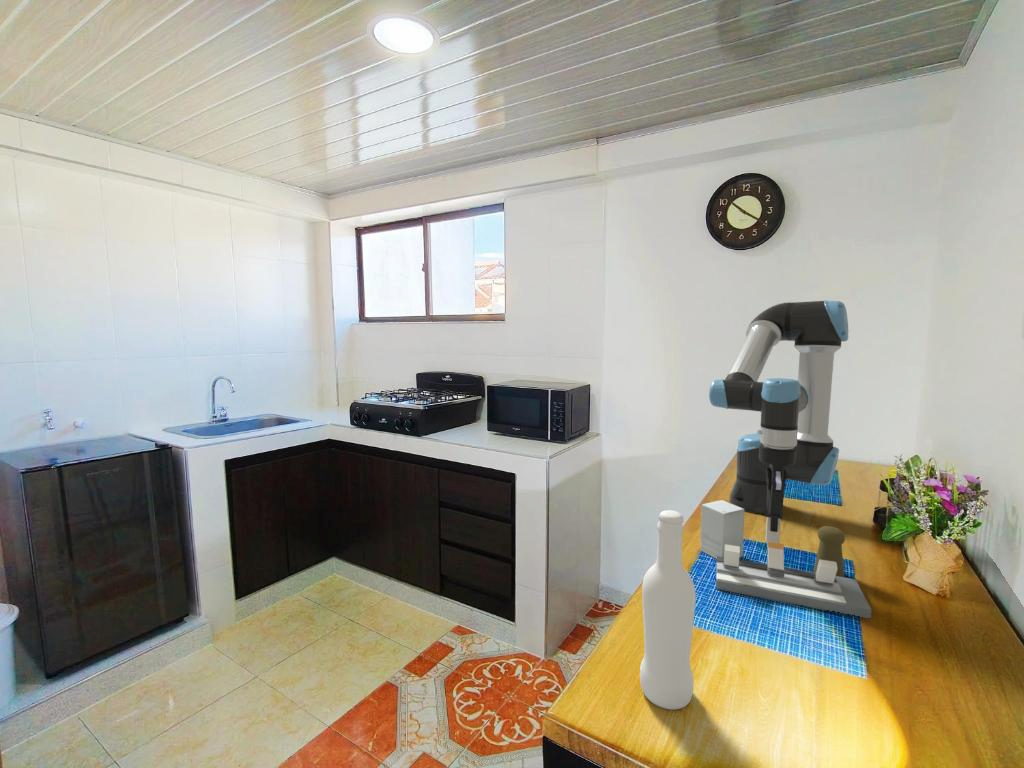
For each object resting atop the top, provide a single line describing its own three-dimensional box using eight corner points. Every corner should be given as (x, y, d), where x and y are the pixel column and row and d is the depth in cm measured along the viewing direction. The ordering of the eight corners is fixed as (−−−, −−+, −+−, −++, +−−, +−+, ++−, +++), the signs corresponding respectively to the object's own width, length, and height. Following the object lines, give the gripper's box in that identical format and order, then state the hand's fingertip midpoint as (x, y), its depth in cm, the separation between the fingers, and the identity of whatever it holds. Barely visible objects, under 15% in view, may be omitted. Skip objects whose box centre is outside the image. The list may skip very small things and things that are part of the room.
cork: (849, 581, 105) (853, 535, 104) (820, 578, 107) (823, 533, 105) (836, 567, 111) (840, 523, 110) (808, 565, 112) (811, 522, 111)
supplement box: (743, 557, 117) (746, 508, 116) (721, 563, 114) (723, 513, 113) (720, 544, 124) (722, 499, 122) (699, 550, 121) (700, 503, 120)
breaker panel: (716, 563, 114) (717, 553, 114) (854, 587, 103) (855, 577, 102) (716, 588, 103) (716, 578, 103) (870, 619, 92) (871, 607, 92)
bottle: (632, 675, 78) (635, 504, 74) (679, 671, 79) (684, 501, 75) (650, 715, 70) (655, 525, 66) (702, 710, 71) (709, 522, 67)
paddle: (767, 574, 105) (767, 542, 107) (783, 576, 103) (783, 544, 106) (767, 573, 103) (767, 541, 105) (784, 576, 102) (784, 544, 104)
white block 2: (814, 577, 101) (818, 559, 97) (831, 580, 100) (836, 562, 96) (814, 584, 100) (819, 565, 96) (832, 587, 99) (838, 568, 95)
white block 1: (723, 561, 109) (724, 544, 105) (738, 564, 107) (740, 546, 104) (723, 567, 107) (724, 550, 104) (738, 570, 106) (740, 552, 102)
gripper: (757, 437, 115) (753, 528, 118) (761, 450, 103) (756, 551, 106) (792, 440, 112) (787, 533, 115) (800, 453, 100) (794, 557, 103)
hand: (772, 542), depth 111 cm, fingers closed
